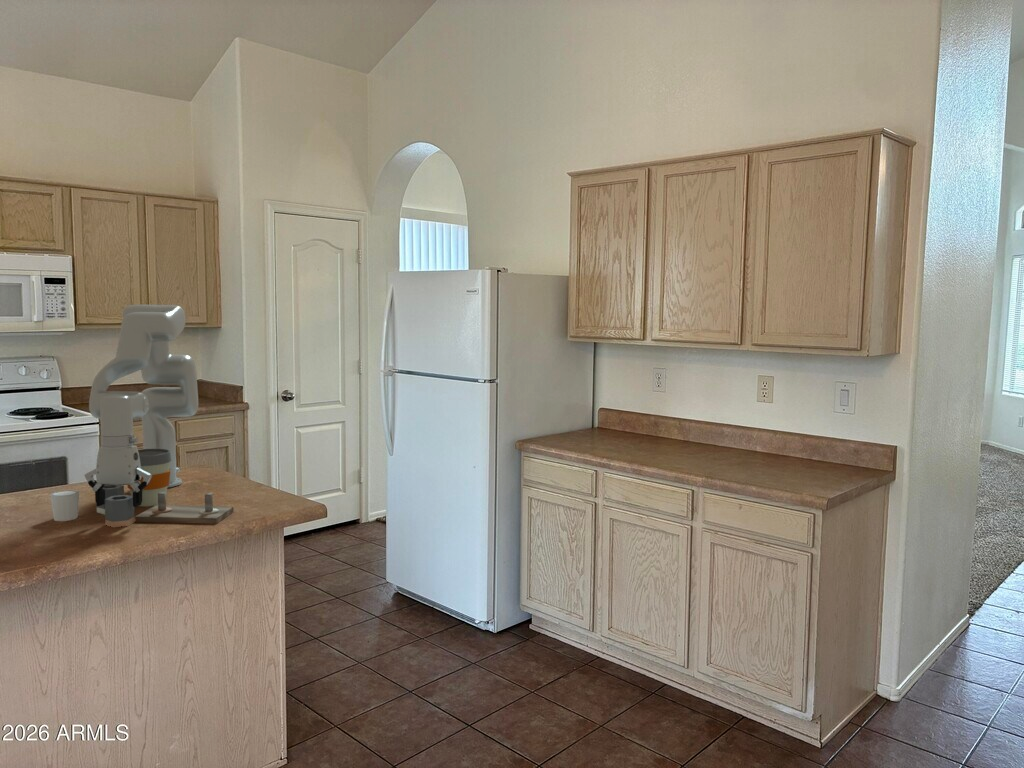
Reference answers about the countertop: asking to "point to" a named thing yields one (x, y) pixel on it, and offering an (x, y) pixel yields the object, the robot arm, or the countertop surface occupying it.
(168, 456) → the reusable coffee cup
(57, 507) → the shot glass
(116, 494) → the cream-banded sleeve
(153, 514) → the pin board
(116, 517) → the terracotta-banded sleeve
